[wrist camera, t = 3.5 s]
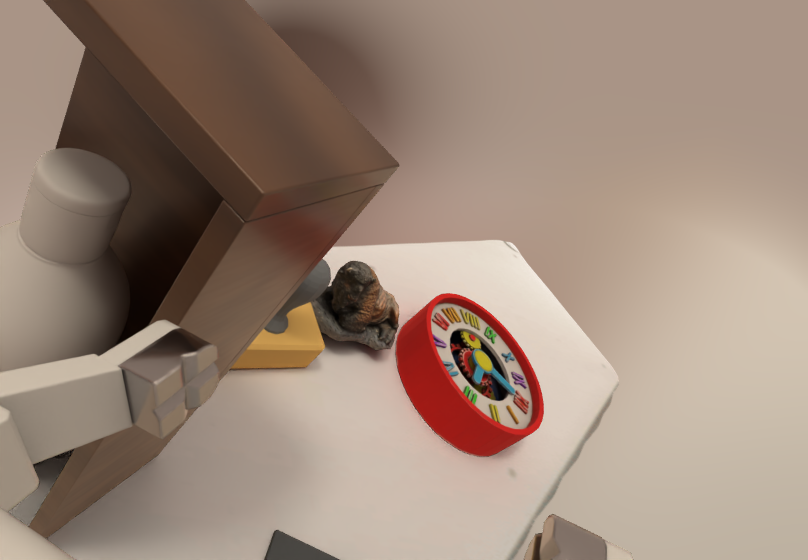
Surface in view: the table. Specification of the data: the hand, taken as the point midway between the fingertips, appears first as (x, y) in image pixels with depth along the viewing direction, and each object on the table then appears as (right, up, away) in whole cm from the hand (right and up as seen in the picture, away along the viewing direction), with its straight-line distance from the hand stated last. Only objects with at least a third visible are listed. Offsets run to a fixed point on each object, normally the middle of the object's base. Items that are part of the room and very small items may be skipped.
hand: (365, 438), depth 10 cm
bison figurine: (-6, -2, +40) cm, 41 cm away
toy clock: (+8, -10, +48) cm, 50 cm away
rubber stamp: (-13, -2, +32) cm, 34 cm away
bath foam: (-23, -5, +16) cm, 29 cm away
